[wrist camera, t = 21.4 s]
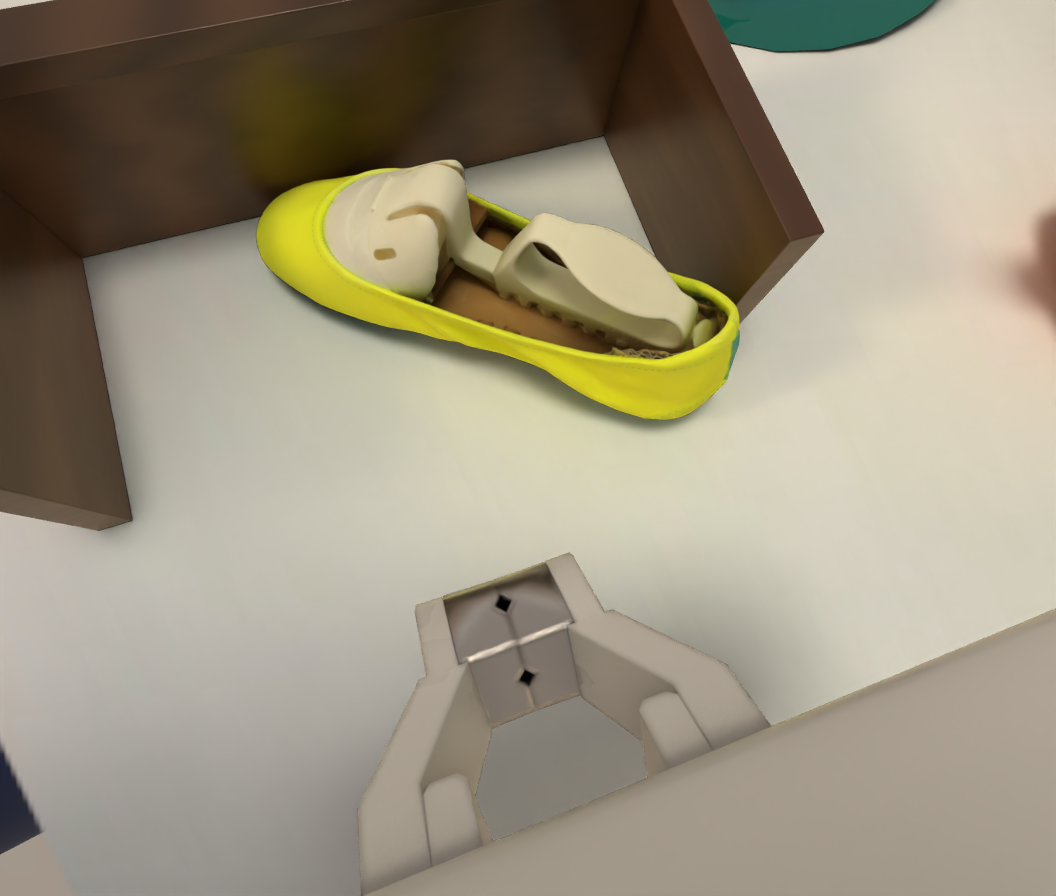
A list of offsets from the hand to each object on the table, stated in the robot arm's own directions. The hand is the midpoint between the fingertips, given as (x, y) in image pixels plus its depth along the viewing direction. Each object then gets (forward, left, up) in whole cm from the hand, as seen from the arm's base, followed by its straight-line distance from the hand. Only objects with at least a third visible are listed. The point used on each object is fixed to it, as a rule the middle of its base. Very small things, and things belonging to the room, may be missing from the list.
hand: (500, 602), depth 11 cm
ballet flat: (+5, +14, -17) cm, 23 cm away
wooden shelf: (0, +16, -17) cm, 23 cm away
